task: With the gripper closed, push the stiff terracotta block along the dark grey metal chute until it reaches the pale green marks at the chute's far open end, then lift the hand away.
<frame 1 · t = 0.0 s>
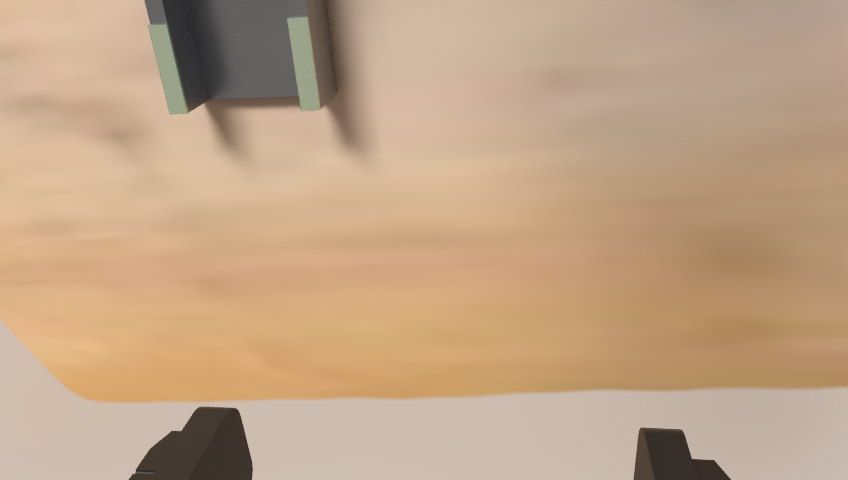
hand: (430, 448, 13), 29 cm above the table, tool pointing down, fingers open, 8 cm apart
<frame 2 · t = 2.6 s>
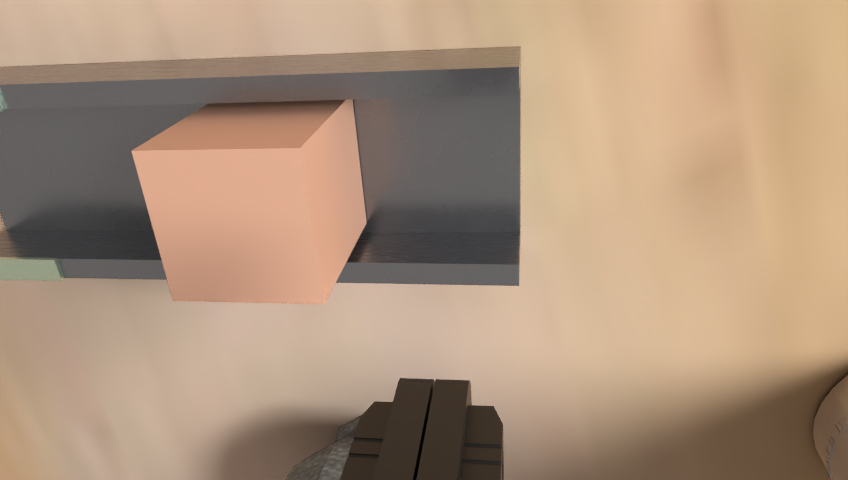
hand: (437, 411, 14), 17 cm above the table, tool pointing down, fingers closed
terracotta block: (266, 192, 26), point 4 cm above the table, slide at 0.0 cm
mortar and pestle: (382, 460, 38), on the table
chute: (239, 156, 31), on the table
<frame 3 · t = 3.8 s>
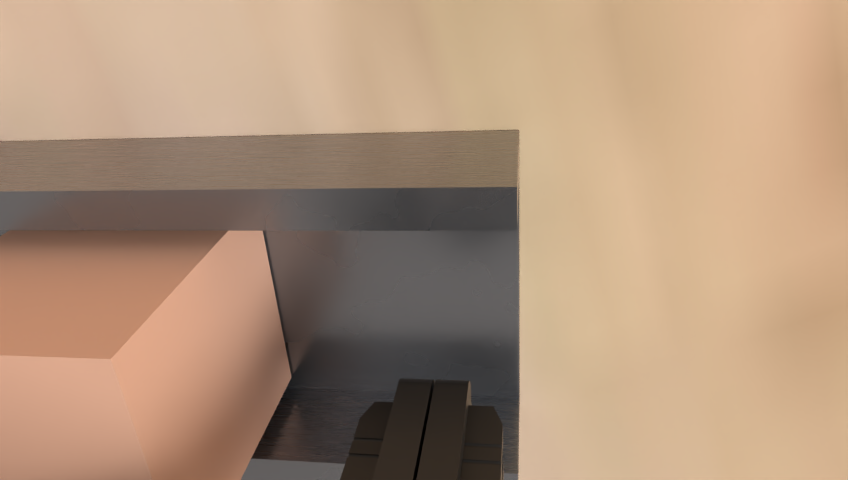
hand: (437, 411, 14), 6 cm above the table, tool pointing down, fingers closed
terracotta block: (113, 366, 16), point 4 cm above the table, slide at 0.0 cm
chute: (104, 276, 21), on the table
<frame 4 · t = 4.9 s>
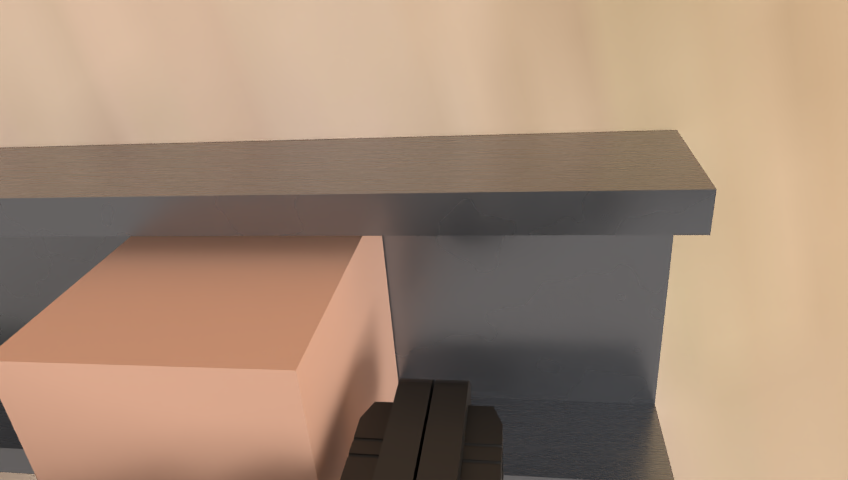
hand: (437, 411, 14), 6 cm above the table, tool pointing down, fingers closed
terracotta block: (242, 375, 16), point 4 cm above the table, slide at 0.6 cm, touching gripper
chute: (221, 282, 20), on the table
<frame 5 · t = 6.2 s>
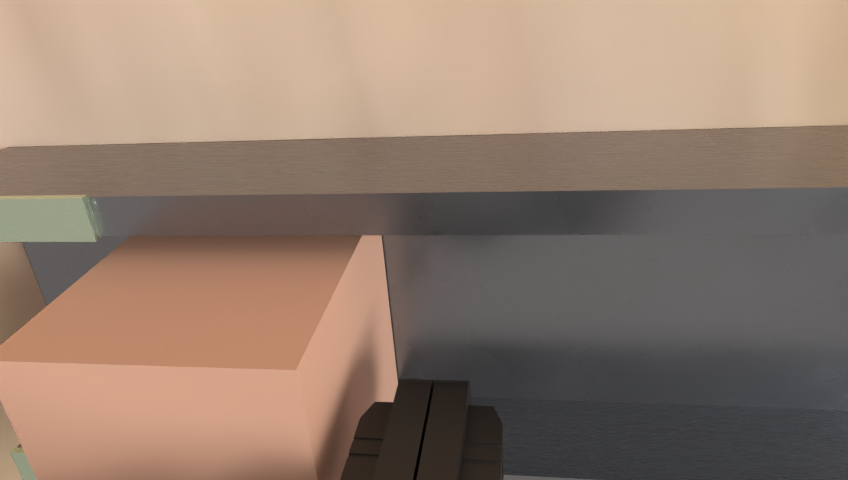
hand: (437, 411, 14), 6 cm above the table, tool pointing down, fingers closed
terracotta block: (241, 375, 16), point 4 cm above the table, slide at 8.0 cm, touching gripper
chute: (460, 284, 19), on the table
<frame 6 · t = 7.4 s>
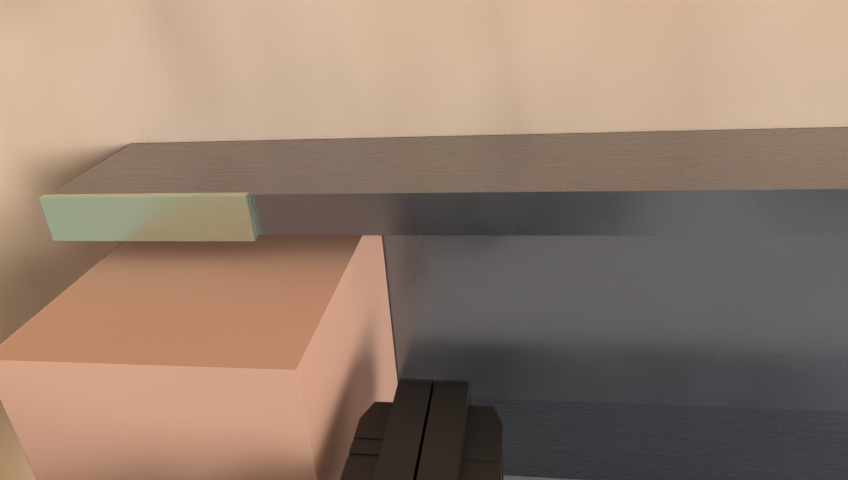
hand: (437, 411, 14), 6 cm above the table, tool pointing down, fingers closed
terracotta block: (241, 374, 16), point 4 cm above the table, slide at 11.9 cm, touching gripper
chute: (597, 286, 18), on the table
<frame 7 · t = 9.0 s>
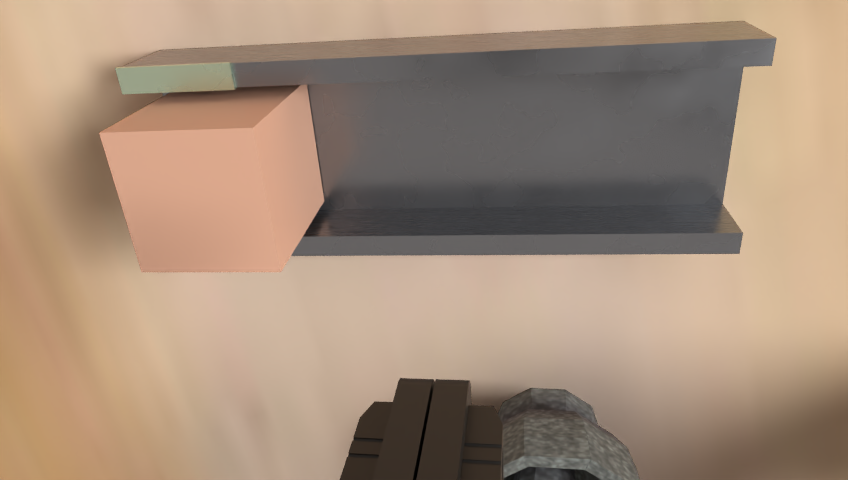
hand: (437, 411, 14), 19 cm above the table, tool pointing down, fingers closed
terracotta block: (227, 171, 28), point 4 cm above the table, slide at 11.9 cm
mortar and pestle: (541, 434, 39), on the table
chute: (440, 133, 31), on the table
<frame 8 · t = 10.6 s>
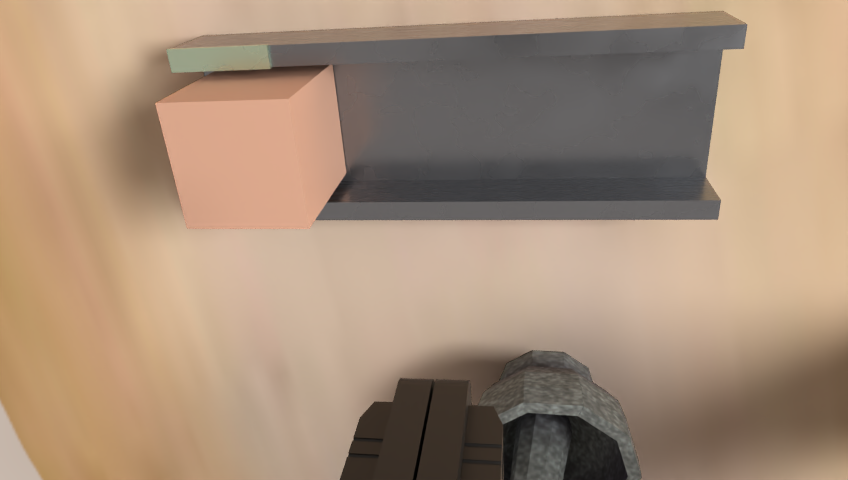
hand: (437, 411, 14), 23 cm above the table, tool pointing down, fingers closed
terracotta block: (262, 142, 32), point 4 cm above the table, slide at 11.9 cm
mortar and pestle: (541, 394, 43), on the table
chute: (451, 112, 35), on the table
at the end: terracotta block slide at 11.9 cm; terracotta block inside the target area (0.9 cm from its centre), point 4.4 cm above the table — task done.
